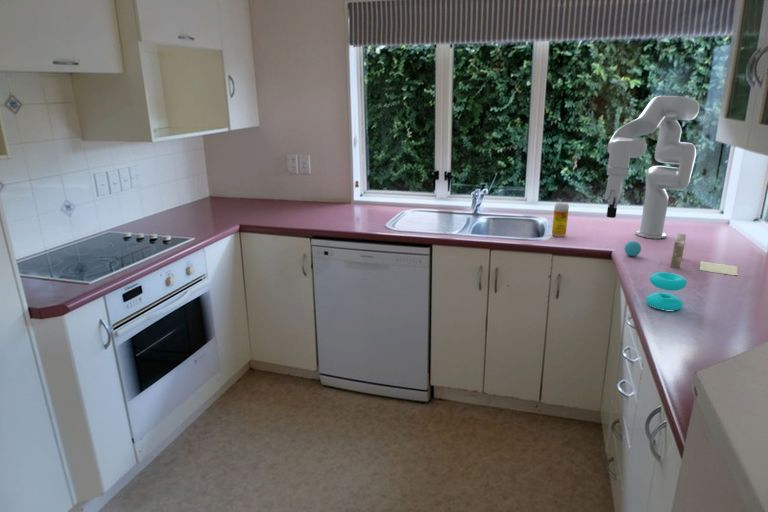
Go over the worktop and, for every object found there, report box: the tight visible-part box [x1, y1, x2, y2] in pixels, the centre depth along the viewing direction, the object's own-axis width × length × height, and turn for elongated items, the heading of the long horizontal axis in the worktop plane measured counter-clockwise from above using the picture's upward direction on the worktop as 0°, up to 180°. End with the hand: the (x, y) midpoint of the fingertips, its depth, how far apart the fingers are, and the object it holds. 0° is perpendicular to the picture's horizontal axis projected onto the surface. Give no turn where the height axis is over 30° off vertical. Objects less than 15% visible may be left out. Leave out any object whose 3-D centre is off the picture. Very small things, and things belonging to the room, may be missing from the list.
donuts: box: [645, 271, 688, 311], centre depth 163 cm, size 10×10×10 cm
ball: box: [624, 240, 642, 257], centre depth 213 cm, size 6×6×6 cm
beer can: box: [551, 201, 570, 238], centre depth 241 cm, size 6×6×15 cm
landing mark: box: [699, 261, 739, 277], centre depth 199 cm, size 12×12×1 cm
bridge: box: [670, 233, 687, 269], centre depth 205 cm, size 3×15×10 cm, turn 149°
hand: (611, 217), depth 214 cm, fingers closed
